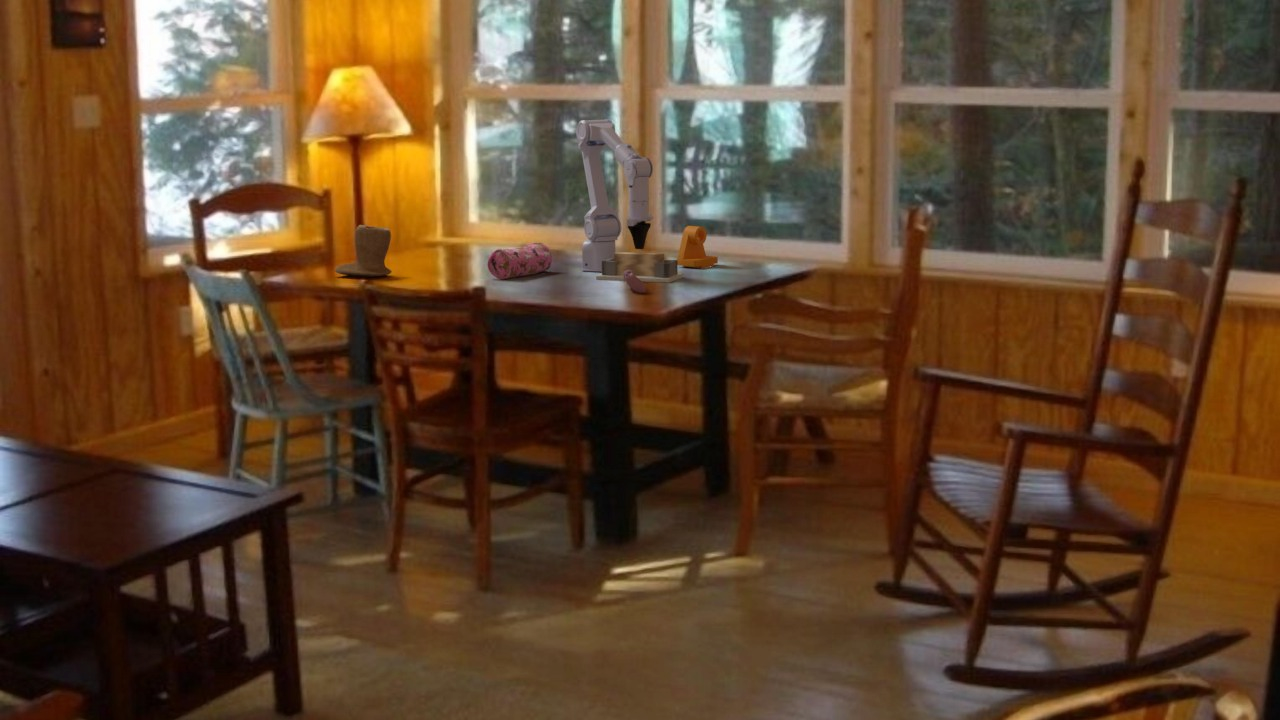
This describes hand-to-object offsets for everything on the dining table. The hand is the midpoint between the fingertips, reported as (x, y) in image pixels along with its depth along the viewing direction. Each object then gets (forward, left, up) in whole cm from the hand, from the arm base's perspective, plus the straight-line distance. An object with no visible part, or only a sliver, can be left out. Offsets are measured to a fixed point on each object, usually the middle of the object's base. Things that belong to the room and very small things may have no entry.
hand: (639, 248), depth 492 cm
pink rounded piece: (+7, -23, -9) cm, 26 cm away
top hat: (-78, -18, -9) cm, 81 cm away
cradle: (0, 0, -8) cm, 8 cm away
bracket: (+8, +28, -9) cm, 30 cm away
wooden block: (0, 0, -7) cm, 7 cm away
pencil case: (-36, -4, -9) cm, 37 cm away
